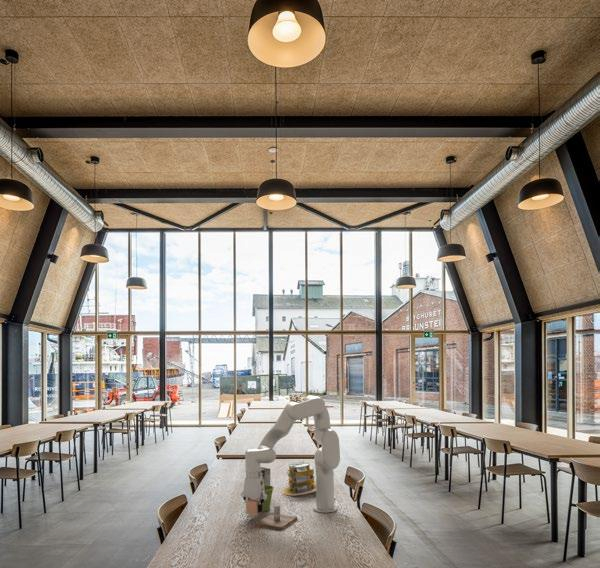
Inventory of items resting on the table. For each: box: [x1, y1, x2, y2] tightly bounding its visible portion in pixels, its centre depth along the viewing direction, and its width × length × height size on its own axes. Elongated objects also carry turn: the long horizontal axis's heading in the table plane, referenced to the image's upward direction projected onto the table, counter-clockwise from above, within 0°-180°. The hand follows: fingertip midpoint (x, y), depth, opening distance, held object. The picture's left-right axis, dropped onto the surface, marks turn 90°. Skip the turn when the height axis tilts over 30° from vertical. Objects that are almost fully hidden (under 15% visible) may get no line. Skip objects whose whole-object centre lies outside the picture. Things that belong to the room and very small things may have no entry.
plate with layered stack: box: [281, 460, 316, 496], centre depth 299 cm, size 25×25×17 cm
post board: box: [255, 504, 298, 532], centre depth 244 cm, size 16×14×8 cm
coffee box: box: [260, 466, 271, 485], centre depth 287 cm, size 9×6×16 cm
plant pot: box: [262, 484, 275, 512], centre depth 265 cm, size 12×12×11 cm
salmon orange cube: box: [245, 498, 264, 516], centre depth 251 cm, size 6×6×6 cm
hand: (254, 510), depth 251 cm, fingers closed on salmon orange cube, 5 cm apart
